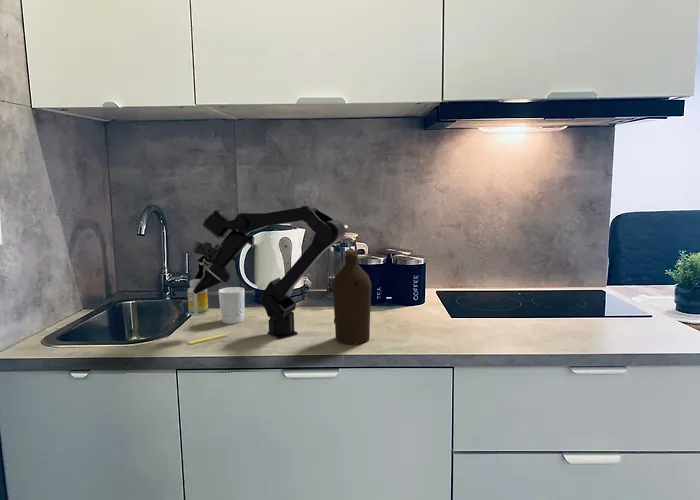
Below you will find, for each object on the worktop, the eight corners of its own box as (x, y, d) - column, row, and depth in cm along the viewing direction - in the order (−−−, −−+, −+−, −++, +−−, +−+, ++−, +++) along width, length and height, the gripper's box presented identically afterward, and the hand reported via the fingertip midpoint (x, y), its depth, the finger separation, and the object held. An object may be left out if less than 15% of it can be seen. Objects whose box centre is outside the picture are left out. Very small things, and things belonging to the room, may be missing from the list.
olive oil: (379, 339, 147) (379, 250, 143) (351, 348, 140) (350, 255, 136) (353, 330, 155) (352, 246, 151) (325, 339, 148) (323, 250, 144)
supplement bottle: (186, 316, 148) (184, 282, 146) (191, 311, 153) (189, 278, 151) (205, 316, 148) (203, 282, 146) (210, 310, 153) (208, 278, 151)
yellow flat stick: (224, 334, 153) (224, 333, 153) (227, 335, 152) (227, 334, 152) (187, 343, 146) (187, 342, 146) (190, 344, 145) (190, 343, 145)
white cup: (235, 316, 172) (233, 285, 170) (251, 320, 167) (249, 289, 166) (215, 321, 166) (213, 290, 164) (230, 326, 161) (229, 294, 160)
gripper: (201, 226, 156) (164, 266, 153) (216, 233, 140) (175, 279, 137) (229, 250, 161) (194, 290, 158) (246, 260, 145) (207, 305, 142)
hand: (192, 290), depth 149 cm, fingers closed on supplement bottle, 5 cm apart
